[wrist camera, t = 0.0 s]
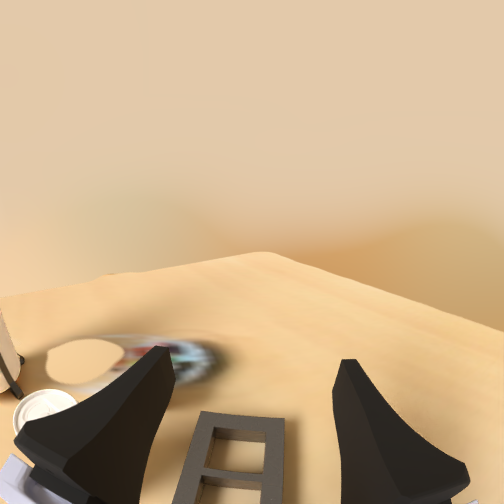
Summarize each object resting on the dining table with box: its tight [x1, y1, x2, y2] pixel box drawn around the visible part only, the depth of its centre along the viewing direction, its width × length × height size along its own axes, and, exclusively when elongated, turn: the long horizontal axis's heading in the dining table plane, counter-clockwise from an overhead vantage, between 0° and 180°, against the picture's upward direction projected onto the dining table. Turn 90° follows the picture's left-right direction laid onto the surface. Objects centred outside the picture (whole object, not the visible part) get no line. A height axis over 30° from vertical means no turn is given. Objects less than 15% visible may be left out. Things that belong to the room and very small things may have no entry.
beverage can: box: [13, 389, 79, 436], centre depth 17 cm, size 8×8×12 cm
